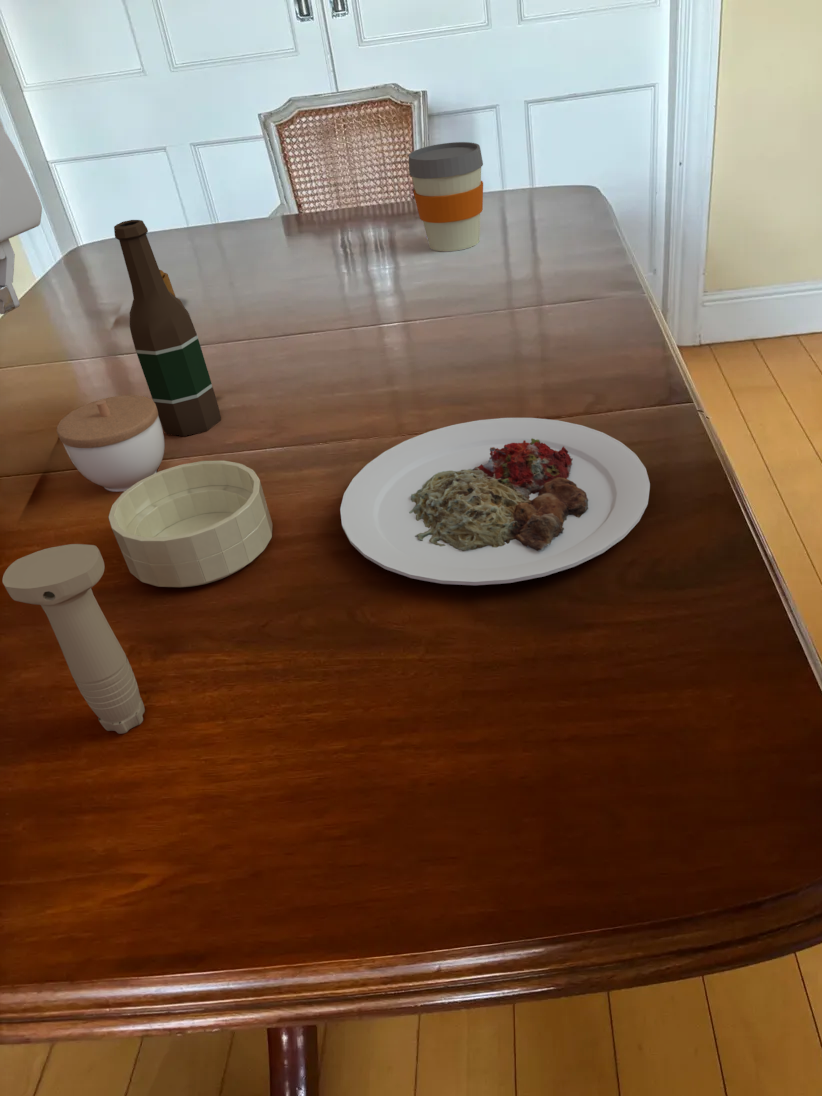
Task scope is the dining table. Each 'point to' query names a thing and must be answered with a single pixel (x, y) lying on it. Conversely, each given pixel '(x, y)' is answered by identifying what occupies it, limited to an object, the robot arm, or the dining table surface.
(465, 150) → the reusable coffee cup
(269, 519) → the bowl
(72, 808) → the dining table surface
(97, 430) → the trinket box
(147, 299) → the beer bottle
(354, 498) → the plated food
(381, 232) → the dining table surface
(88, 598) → the handle
